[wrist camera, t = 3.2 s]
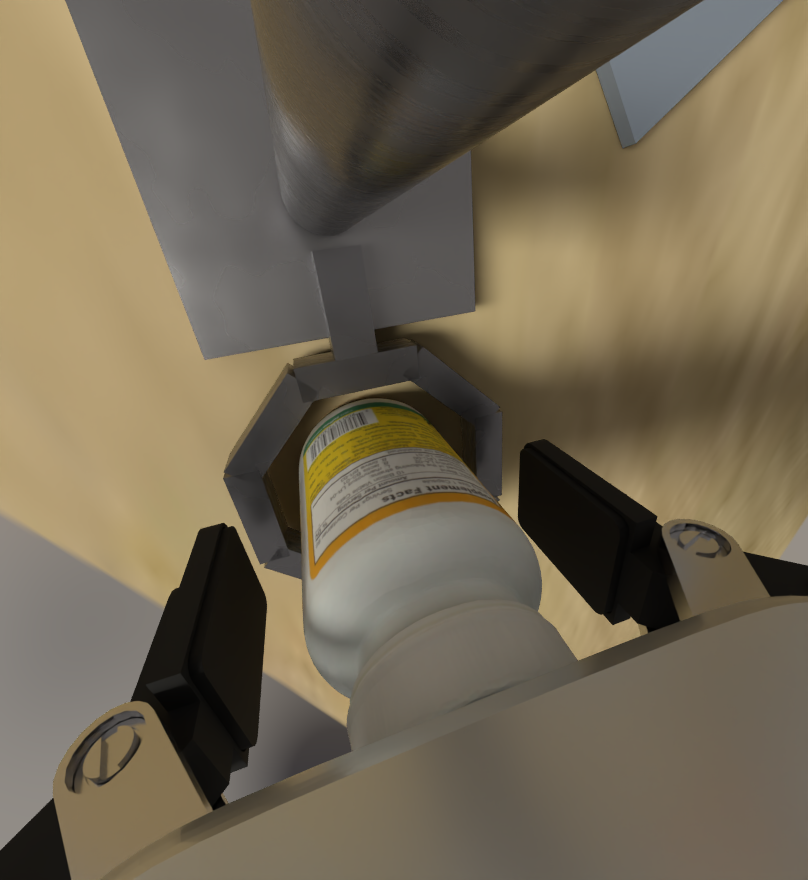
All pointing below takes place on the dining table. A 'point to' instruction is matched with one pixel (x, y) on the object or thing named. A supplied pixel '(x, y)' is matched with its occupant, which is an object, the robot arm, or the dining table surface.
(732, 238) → the dining table surface
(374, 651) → the supplement bottle
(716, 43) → the rubber mat
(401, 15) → the ring stand
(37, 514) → the dining table surface
